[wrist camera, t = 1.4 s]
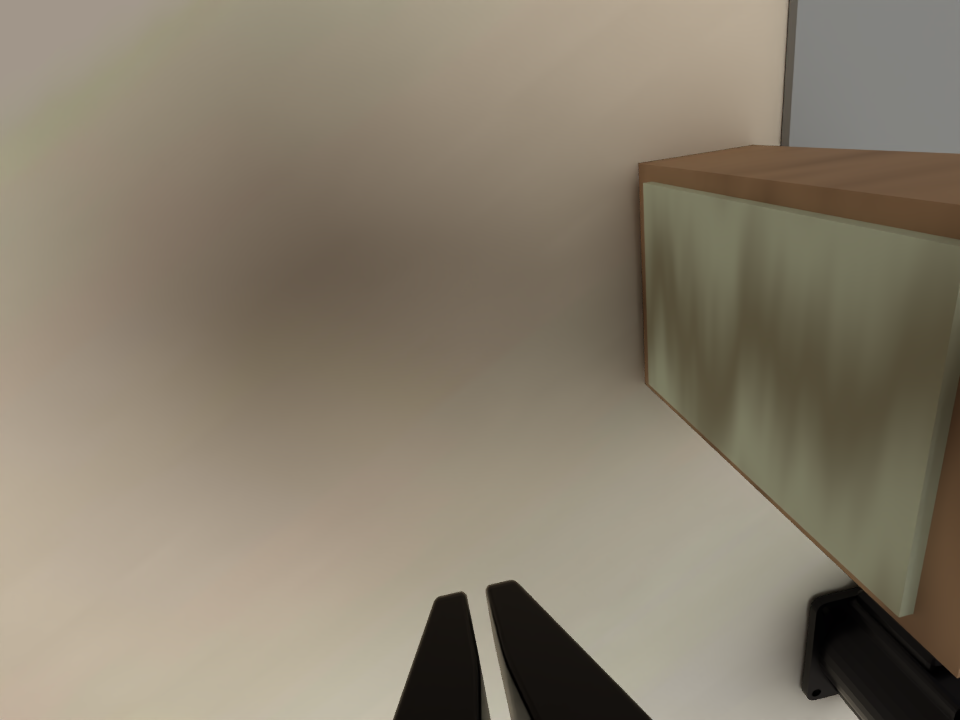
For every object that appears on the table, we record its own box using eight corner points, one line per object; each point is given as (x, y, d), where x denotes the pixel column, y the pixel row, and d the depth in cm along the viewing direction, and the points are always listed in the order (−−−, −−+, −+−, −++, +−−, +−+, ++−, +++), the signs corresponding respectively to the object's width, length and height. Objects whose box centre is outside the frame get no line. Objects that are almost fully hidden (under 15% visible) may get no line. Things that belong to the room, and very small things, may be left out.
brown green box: (744, 364, 23) (1153, 625, 11) (637, 385, 22) (941, 682, 10) (752, 144, 20) (1339, 169, 8) (629, 164, 19) (1048, 222, 7)
